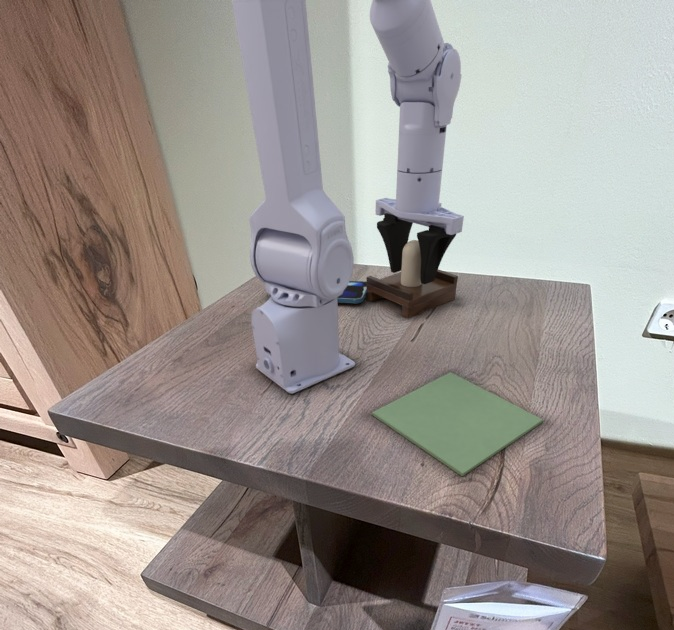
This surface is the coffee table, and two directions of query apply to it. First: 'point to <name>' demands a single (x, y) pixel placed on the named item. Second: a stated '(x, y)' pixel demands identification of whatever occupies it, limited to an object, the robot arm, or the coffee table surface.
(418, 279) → the beige rounded peg
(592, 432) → the coffee table surface
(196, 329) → the coffee table surface
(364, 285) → the smartphone
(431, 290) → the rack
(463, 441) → the mat
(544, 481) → the coffee table surface
